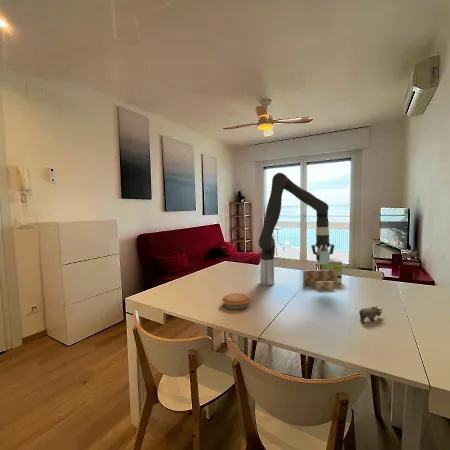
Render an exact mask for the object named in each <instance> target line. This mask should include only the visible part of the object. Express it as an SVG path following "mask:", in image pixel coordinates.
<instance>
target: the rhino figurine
mask: <svg viewBox="0 0 450 450" xmlns="http://www.w3.org/2000/svg"><path fill="white" fill-rule="evenodd" d="M382 313H383V309H382V308H378V306H377V305H376V306H371V307H368V308H367V307H365V308H361V309H360V310H359V316H360V317H359V318H360V321H361V324H366V321H365V320H366V319H367V318H368V319H369V320H371V321H372V322H376V320H375V318H376V317H380V316H381V314H382Z"/></svg>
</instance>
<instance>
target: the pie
mask: <svg viewBox="0 0 450 450" xmlns="http://www.w3.org/2000/svg"><path fill="white" fill-rule="evenodd" d="M251 300H252V299H251V297H250V296H248V295H246V294H244V293H238V292H237V293H229V294H227V295H225V296H222V298H221V301H222V303H223V304H224V306H225V307H226V308H227V309H229V310H242V309H245V308H247V306H248V305H249V303H250V302H251Z"/></svg>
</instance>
